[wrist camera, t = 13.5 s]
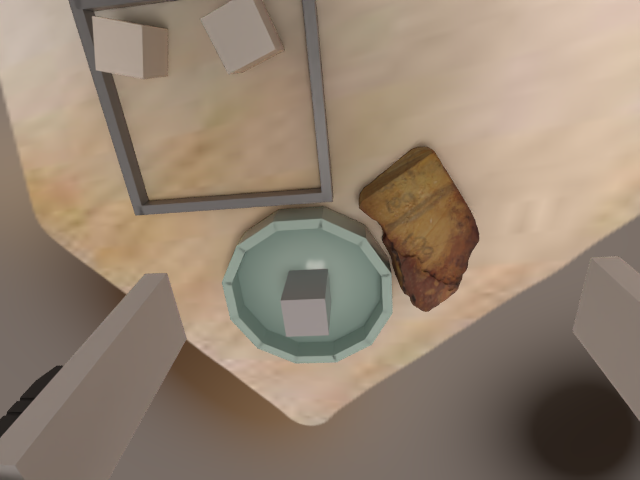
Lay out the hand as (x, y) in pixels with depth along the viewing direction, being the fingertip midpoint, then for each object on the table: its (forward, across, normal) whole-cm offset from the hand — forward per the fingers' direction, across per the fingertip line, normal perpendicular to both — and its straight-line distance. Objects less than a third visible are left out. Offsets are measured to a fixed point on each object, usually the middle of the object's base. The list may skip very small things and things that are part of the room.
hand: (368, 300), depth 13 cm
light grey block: (+29, -19, +8) cm, 36 cm away
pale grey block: (+29, -9, +8) cm, 31 cm away
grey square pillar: (+27, -6, -17) cm, 33 cm away
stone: (+29, +6, -10) cm, 31 cm away
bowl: (+28, -6, -17) cm, 33 cm away
